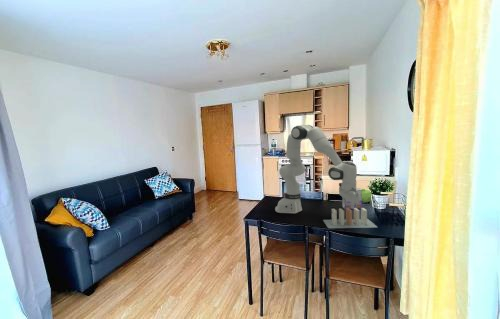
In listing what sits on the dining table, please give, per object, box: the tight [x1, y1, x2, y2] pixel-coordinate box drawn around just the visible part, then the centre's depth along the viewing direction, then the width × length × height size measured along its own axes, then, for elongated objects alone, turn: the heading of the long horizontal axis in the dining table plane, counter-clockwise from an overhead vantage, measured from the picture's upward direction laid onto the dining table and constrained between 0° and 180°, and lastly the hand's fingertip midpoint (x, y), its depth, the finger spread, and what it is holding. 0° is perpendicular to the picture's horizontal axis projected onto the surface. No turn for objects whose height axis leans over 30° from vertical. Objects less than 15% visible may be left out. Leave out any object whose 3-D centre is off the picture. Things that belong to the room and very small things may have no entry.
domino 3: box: [345, 208, 353, 225], centre depth 153 cm, size 2×5×10 cm, turn 6°
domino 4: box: [353, 208, 360, 225], centre depth 153 cm, size 2×5×10 cm, turn 176°
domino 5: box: [360, 207, 368, 225], centre depth 153 cm, size 2×5×10 cm, turn 176°
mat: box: [322, 218, 378, 229], centre depth 154 cm, size 32×14×1 cm, turn 86°
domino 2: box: [338, 207, 345, 225], centre depth 154 cm, size 2×5×10 cm, turn 176°
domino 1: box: [331, 208, 338, 225], centre depth 154 cm, size 2×5×10 cm, turn 176°
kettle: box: [361, 188, 372, 204], centre depth 198 cm, size 15×14×11 cm
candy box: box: [342, 187, 363, 210], centre depth 183 cm, size 14×6×16 cm, turn 84°
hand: (348, 205), depth 153 cm, fingers open, 8 cm apart
